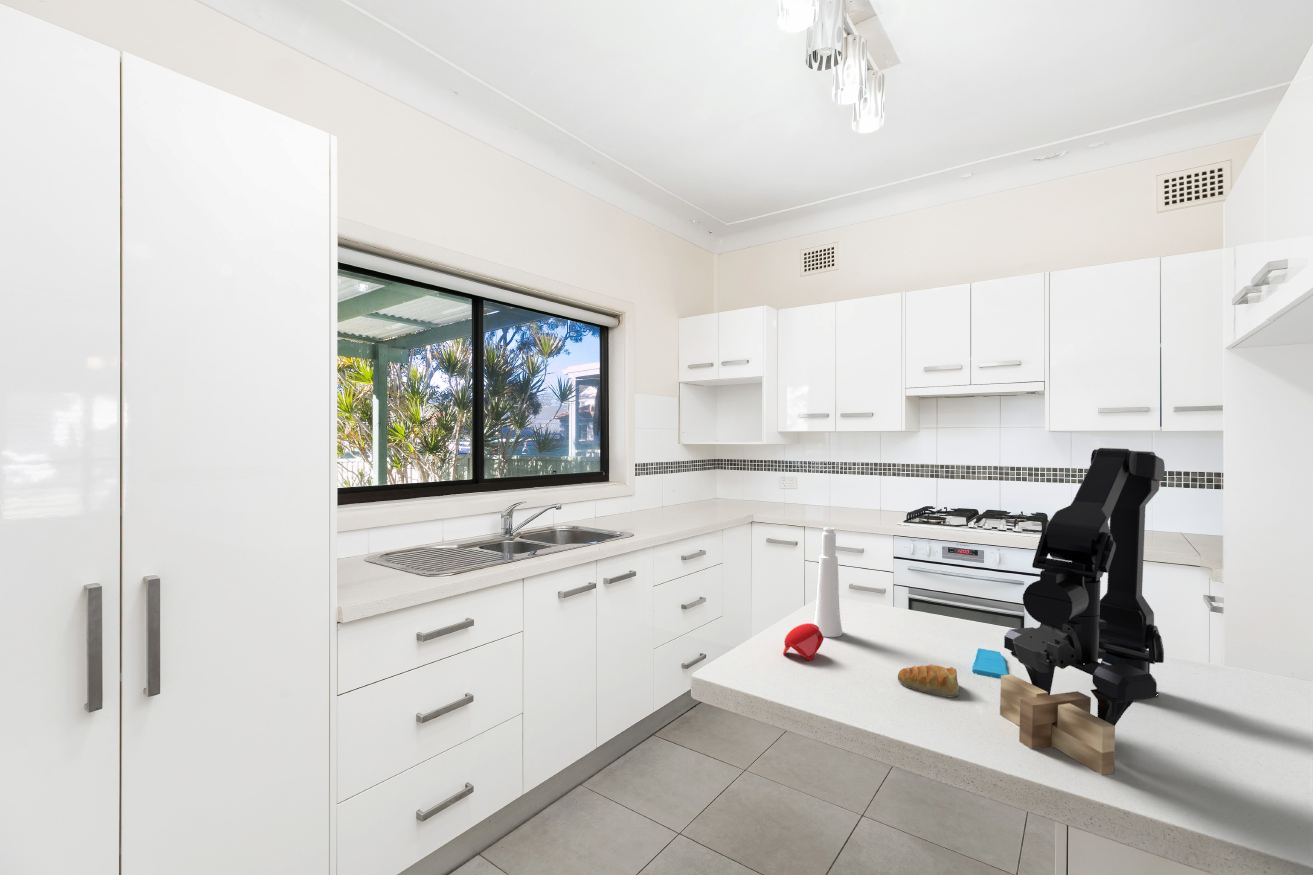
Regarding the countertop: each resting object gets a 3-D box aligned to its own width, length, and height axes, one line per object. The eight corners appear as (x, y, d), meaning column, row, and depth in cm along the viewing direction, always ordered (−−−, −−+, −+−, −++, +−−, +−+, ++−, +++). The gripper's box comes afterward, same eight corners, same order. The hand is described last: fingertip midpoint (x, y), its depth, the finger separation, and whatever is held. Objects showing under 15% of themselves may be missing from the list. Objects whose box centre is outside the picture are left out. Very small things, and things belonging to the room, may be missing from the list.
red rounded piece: (825, 633, 117) (798, 614, 119) (830, 633, 112) (802, 613, 113) (803, 668, 116) (776, 649, 117) (807, 670, 110) (778, 650, 112)
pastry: (898, 691, 100) (898, 668, 100) (896, 675, 106) (896, 653, 106) (961, 700, 97) (962, 676, 97) (955, 683, 103) (956, 661, 103)
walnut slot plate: (1076, 732, 87) (1077, 691, 86) (1089, 739, 85) (1090, 697, 85) (1019, 741, 84) (1020, 698, 84) (1031, 748, 82) (1032, 705, 82)
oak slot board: (999, 714, 92) (1000, 675, 92) (1010, 712, 92) (1011, 674, 92) (1101, 774, 76) (1102, 727, 76) (1113, 772, 77) (1115, 725, 77)
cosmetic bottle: (843, 638, 123) (845, 531, 123) (812, 636, 125) (814, 529, 124) (841, 628, 129) (843, 526, 128) (812, 626, 130) (813, 524, 130)
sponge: (1012, 654, 114) (978, 644, 117) (1009, 677, 104) (971, 665, 107) (1011, 662, 114) (976, 652, 117) (1008, 685, 104) (970, 673, 107)
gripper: (975, 595, 92) (973, 696, 92) (1092, 638, 74) (1088, 764, 74) (1035, 590, 94) (1032, 689, 95) (1161, 631, 76) (1157, 752, 77)
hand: (1071, 720), depth 85 cm, fingers open, 9 cm apart
